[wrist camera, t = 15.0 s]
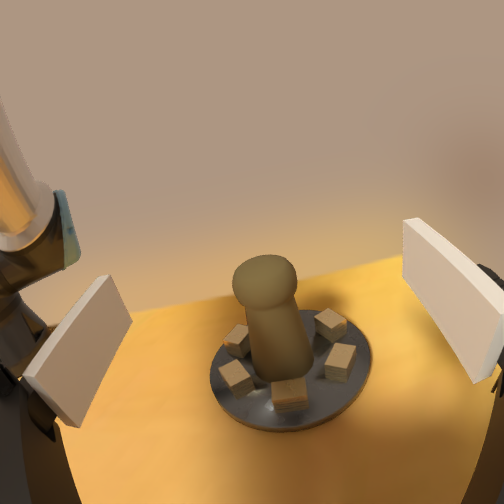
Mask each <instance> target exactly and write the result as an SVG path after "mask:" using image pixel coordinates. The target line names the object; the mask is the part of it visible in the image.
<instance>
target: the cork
mask: <svg viewBox="0 0 504 504" xmlns="http://www.w3.org/2000/svg"><path fill="white" fill-rule="evenodd" d="M232 284H233V285H232V286H233V291H234V294H235V296H236V298H237V299H238V301H239V302H240V304H242V305H243V306H245V310H246V317H247V325H248V332H249V340H250V347H251V355H252V362H253V369H254V371H255V374H256V375H257V376H258V377H259V378H260V379H261V380H262V381H265V382H267V383H270V384H271V382H277V381H284V380H290V379H296V378H302V377H303V376H305V375H306V374H307V373H308V372H309V371H310V369H311V368H312V366H313V362H314V355H313V351H312V348H311V345H310V342H309V339H308V336H307V333H306V330H305V327H304V324H303V321H302V319H301V316H300V313H299V310H298V307H297V304H296V301H295V298H294V294H295V292H296V289H297V276H296V271H295V269H294V267H293V265H292V264H291V263H290V262H289V261H288V260H287V259H286V258H284V257H281V256H277V255H262V256H257V257H254V258H251V259H249V260H247V261H245V262H244V263H242V264H241V265H240V266H239V267H238V268H237V269H236V271H235V273H234V276H233V282H232Z"/></svg>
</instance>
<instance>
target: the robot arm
mask: <svg viewBox="0 0 504 504" xmlns="http://www.w3.org/2000/svg"><path fill="white" fill-rule="evenodd" d="M80 255H81V251H80V246H79V243H78V239H77V236H76V232H75V229H74V225H73V221H72V218H71V214H70V210H69V206H68V202H67V198H66V194H65V192H64V191H63V190H55V191H53V192H52V190H51V189H50V187H49V186H48V185H47V184H46V183H44V182H42V181H39V180H34V178H33V176H32V174H31V172H30V169H29V167H28V165H27V163H26V161H25V159H24V157H23V154H22V152H21V150H20V148H19V145H18V143H17V140H16V138H15V136H14V133H13V131H12V128H11V125H10V123H9V120H8V117H7V115H6V112H5V110H4V106H3V104H2V101H1V97H0V504H82V503H81V500H80V498H79V495H78V492H77V489H76V486H75V483H74V480H73V477H72V474H71V471H70V467H69V464H68V460H67V457H66V453H65V449H64V445H63V441H62V437H61V432H60V428H59V426H58V424H57V423H56V422H55V421H54V420H55V418H56V416H58V417H59V418H60V419H61V420H62V421H63V423H64V424H65V425H67V426H72V427H77V428H80V427H81V424H82V422H83V420H84V418H85V415H86V413H87V411H88V409H89V407H90V405H91V402H92V400H93V398H94V396H95V394H96V392H97V390H98V388H99V386H100V384H101V382H102V380H103V378H104V375H105V373H106V371H107V369H108V367H109V365H110V364H111V362H112V360H113V358H114V356H115V354H116V352H117V350H118V348H119V346H120V344H121V342H122V340H123V338H124V337H125V335H126V333H127V331H128V329H129V327H130V325H131V324H132V322H133V321H132V319H131V317H130V315H129V313H128V311H127V309H126V307H125V305H124V303H123V301H122V299H121V297H120V294H119V293H118V291H117V288H116V286H115V284H114V282H113V279H112V277H111V275H104V276H99V277H98V278H97V279H96V280H95V281H94V282H93V283H92V284H91V286H90V287H89V288H88V289H87V290H86V291H85V293H84V294H83V295H82V296H81V297H80V299H79V300H78V301H77V302H76V304H75V305H74V306H73V307H72V308H71V310H70V311H69V312H68V313H67V315H66V316H65V317H64V318H63V320H62V321H61V322H60V323H59V325H58V326H57V327H56V329H55V330H54V331H53V333H51V332H50V330H49V328H48V327H47V325H46V324H45V322H44V321H43V320H42V319H40V318H39V317H38V316H37V315H36V314H35V313H34V312H33V311H32V310H31V309H30V308H29V307H28V306H27V305H26V304H25V303H24V301H23V300H22V298H21V296H20V294H19V292H18V291H20V290H22V289H23V288H26V287H28V286H29V285H31V284H34V283H35V282H38V281H40V280H42V279H43V278H46V277H48V276H50V275H52V274H54V273H56V272H59V271H61V270H65V269H66V267H68V266H70V265H72V264H74V263H75V262H77V261H78V260H79V258H80ZM402 277H403V279H404V280H405V281H406V282H407V284H408V285H409V287H410V288H411V289H412V291H413V292H414V293H415V295H416V296H417V297H418V299H419V300H420V302H421V303H422V304H423V306H424V307H425V309H426V310H427V312H428V313H429V314H430V316H431V317H432V319H433V320H434V322H435V323H436V325H437V326H438V328H439V329H440V331H441V332H442V334H443V335H444V337H445V338H446V340H447V341H448V343H449V345H450V346H451V348H452V349H453V351H454V352H455V354H456V356H457V357H458V359H459V361H460V362H461V364H462V365H463V367H464V369H465V371H466V372H467V374H468V376H469V377H470V379H471V381H472V383H473V384H475V383H477V382H479V381H481V380H484V379H486V378H488V377H490V376H491V375H492V373H493V371H494V369H495V366H496V364H497V363H498V364H499V366H500V367H501V369H502V371H501V373H500V375H499V377H498V379H497V381H496V383H495V384H494V386H493V388H492V391H491V393H494V391H495V389H496V388H497V391H496V396H495V401H494V406H493V410H492V415H491V419H490V423H489V427H488V430H487V434H486V438H485V441H484V444H483V448H482V451H481V454H480V457H479V460H478V463H477V466H476V468H475V471H474V474H473V476H472V479H471V481H470V484H469V486H468V489H467V491H466V493H465V496H464V498H463V500H462V502H461V504H504V281H503V280H502V279H500V277H498V275H497V274H496V273H494V272H493V271H492V270H491V269H489V268H487V267H485V266H483V265H481V264H477V265H476V264H474V263H473V262H472V261H471V260H470V259H469V258H468V257H467V256H465V255H464V254H463V253H462V252H461V251H460V250H458V249H457V248H456V247H455V246H453V245H452V244H451V243H450V242H449V241H448V240H446V239H445V238H444V237H443V236H441V235H440V234H439V233H437V232H436V231H435V230H434V229H433V228H431V227H430V226H428V225H427V224H426V223H424V222H423V221H422V220H421V219H419V218H413V219H407V220H403V270H402ZM21 375H22V378H21V379H20V381H19V380H18V379H17V377H19V376H21Z"/></svg>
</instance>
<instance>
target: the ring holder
mask: <svg viewBox="0 0 504 504" xmlns="http://www.w3.org/2000/svg"><path fill="white" fill-rule="evenodd" d="M299 313H300V316H301V319H302V321H303V324H304V327H305V330H306V333H307V336H308V339H309V342H310V345H311V348H312V351H313V355H314V362H313V366H312V368H311V369H310V371H309V372H308V373H307V374H306V375H305V376H303V377H302V378H296V379H290V380H284V381H277V382H271V384H270V383H267V382H265V381H262V380H261V379H260V378H259V377H258V376H257V375H256V374H255V371H254V369H253V362H252V355H251V347H250V340H249V332H248V325H246V326H245V325H241V324H237V325H236V326H235V327H234V328H233V329H232V331H231V332H230V333H229V334H228V335H227V336H226V337H225V338H224V339H223V342H224V344H223V345H222V346H221V347H220V349H219V350H218V352H217V353H216V355H215V357H214V359H213V362H212V365H211V369H210V384H211V387H212V391H213V393H214V395H215V397H216V399H217V401H218V403H219V404H220V406H221V407H222V408H223V410H224V411H225V412H226V413H227V414H228V415H229V416H231V417H232V418H233V419H235V420H236V421H238V422H240V423H242V424H244V425H246V426H248V427H251V428H254V429H258V430H262V431H268V432H294V431H300V430H305V429H309V428H312V427H315V426H318V425H320V424H323V423H325V422H327V421H329V420H331V419H333V418H334V417H336V416H337V415H339V414H340V413H342V412H343V411H344V410H345V409H347V408H348V407H349V406H350V405H351V404H352V403H353V402H354V401H355V400H356V398H357V397H358V396H359V394H360V393H361V391H362V390H363V388H364V386H365V384H366V381H367V378H368V374H369V367H370V351H369V347H368V344H367V341H366V339H365V337H364V336H363V334H362V333H361V332H360V330H359V329H358V328H357V327H355V326H354V325H353V324H352V323H350V322H349V321H347V320H346V318H344V317H342V316H341V315H339V314H338V313H336V312H334V311H333V310H331V309H329V308H327V309H326V310H324V311H314V310H299Z"/></svg>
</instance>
